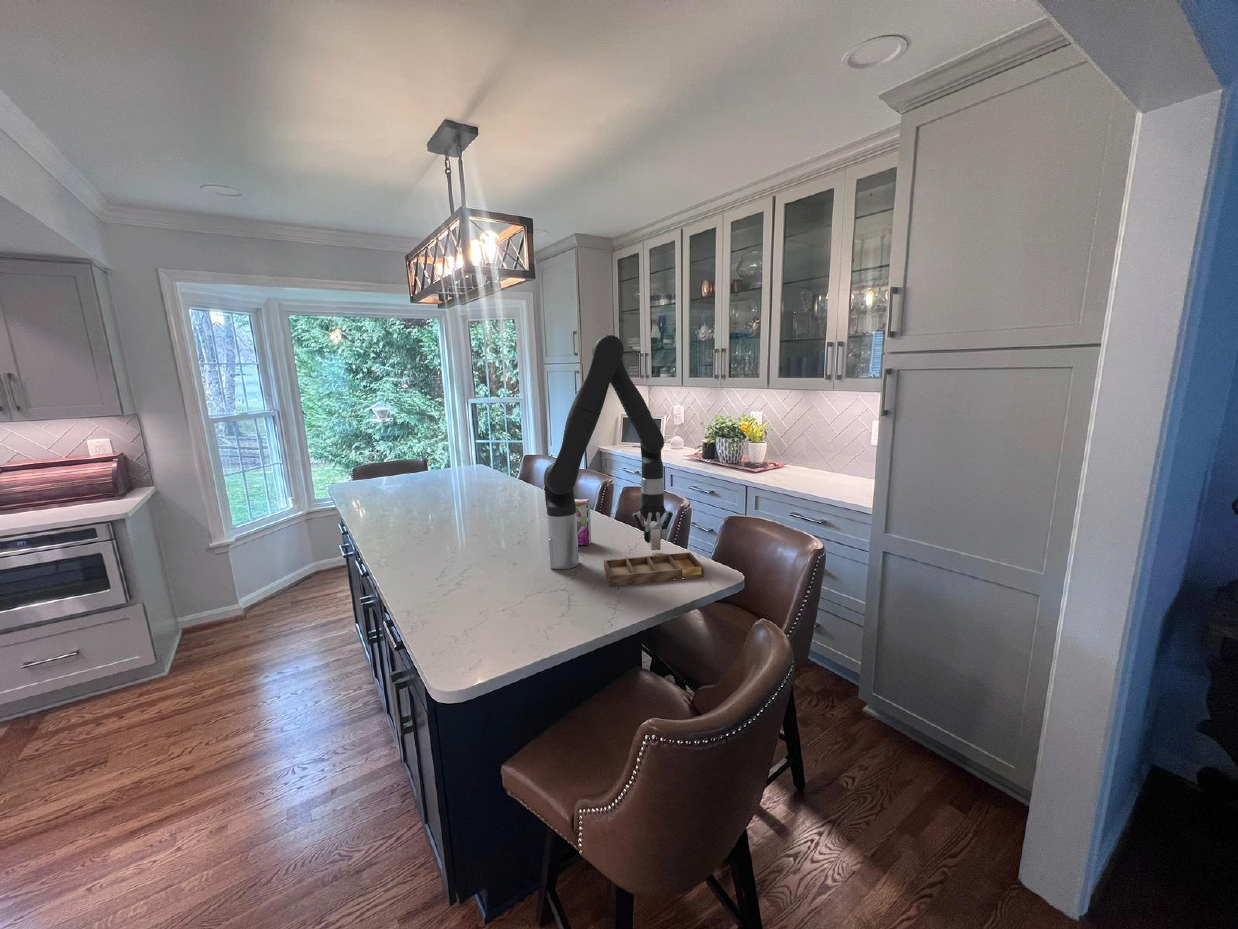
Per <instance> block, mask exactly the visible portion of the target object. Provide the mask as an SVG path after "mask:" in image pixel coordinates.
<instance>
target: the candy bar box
mask: <svg viewBox="0 0 1238 929" xmlns="http://www.w3.org/2000/svg"><path fill="white" fill-rule="evenodd" d="M574 500H575V504H576V519H577V538H578V547H583V546H582V545H587V546H586V547H588V545H589V544H591V543H592V526H591V524H592V523H591V503H590V502H591V500H590V499H589V498H587V499H585V498H584V499H580V498H578V499H577V498H574ZM579 545H581V546H579ZM589 546H590V545H589Z"/></svg>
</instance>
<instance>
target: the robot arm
mask: <svg viewBox="0 0 1238 929" xmlns="http://www.w3.org/2000/svg"><path fill="white" fill-rule="evenodd" d="M624 348H625V347H624V343H623V342H622V340H621V338H619V337H618V336H615V335H613V334H607V335H604V336H601V337H600V338H599V339H597V340H596V342H595V343H594V345H593V347H592V352H591V353H592V358H591V363H590V367H589V369H588V372H587V375H586V377H585V379H584V381H583V383H582V384H581V386H580V388H579V389H578V392H577V393H576V395H575V397H574V400H573V401H572V404H571V407H570V410H569V412H568V415H567V418H566V421H565V425H564V431H563V437H562V442H561V443H562V444H561V447H560V450H559V452H558V454H557V457H556V459H555V461H554V462H552V463H550V464H549V465H548V466H547V467H546V469H545V470H544V475H543V485H544V499H545V506H546V507H545V508H546V516H547V531H548V552H549V554H548V555H549V567H550V569H553V570H554V569H555V570H568V569H569V570H571V569H573V568H575V567H577V566H578V565H579V564H580V562H579V561H580V560H579V559H580V558H579V546H578V538H577V519H576V504H575V500H574V499H575V495H574V487H575V485H576V482H577V479H578V476H579V472H580V467H581V464H582V460H583V457H584V454H585V452H586V450H587V447H588V446H589V443H590V441H591V438H592V436H593V434H594V431H595V429H596V426H597V424H598V422H599V420H600V417H601V414H602V410H603V408H604V404H605V401H606V398H607V394H608V390H609V387H610V384H611V386H612V388H613V389H614V391H615V394H616V396H617V397H618V400H619V402H620V404H621V407H622V408H623V410H624V413H625V414H626V417H627V418H628V420H629V422H630V424H631V425H632V427H633V428H634V429H635V432H636V434H637V436H638V438H639V441H640V444H639V445H640V454H641V457H640V458H641V482H640V502H641V505H640V509H639V511H638V512H632V517H633V519H634V521H635V523H636V525H637V528H638V529H639V531H640V532H641V531H642V532H643V539H644V542H645V543H646V542H647V543H649V532H648V531H649V526H650V522H652V521H654V522H655V523H656V524H657V526H658V527H659V528H660V531H661V533H662V532H663V531H664V530H667V529H668V527H669V525H670V522H671V520H672V518H673V515H674V514H673V511H671V510H667V509H666V508H665V481H664V464H663V460H662V449H664V446H665V438H664V436H663V434H662V431H661V430H660V428H659V427H658V425H657V423H656V421H655V420H654V418H653V416H652V414H651V411H650V410H649V407H648V405H647V404H646V401H645V400H644V397H643V396H642V394H641V393H640V390H639V389H638V388H637V386H636V385H635V384H634V382H633V381H632V380H631V378H630V375H629V374H628V371H627V370H626V368H625V364H624V362H623V358H624V353H625V349H624ZM641 516H642V517H643V519H644V524H642V523H641V520H640V519H641ZM663 516H665V517H664V520H663V522H662V520H661V519H662V518H663ZM647 543H646V544H647Z"/></svg>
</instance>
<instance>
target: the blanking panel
mask: <svg viewBox="0 0 1238 929" xmlns="http://www.w3.org/2000/svg"><path fill="white" fill-rule="evenodd" d="M648 532H649V543H647V542H646V541H645V543H646V545H647V546H648V547H649V549H650V551H661V547H662V546H661V541H662V532H661V531H660V528H659V527H658V526H657V524H656V522H655V521H652V522H650V526H649V531H648Z"/></svg>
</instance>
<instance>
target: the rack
mask: <svg viewBox="0 0 1238 929" xmlns="http://www.w3.org/2000/svg"><path fill="white" fill-rule="evenodd" d="M603 570H604V573H605V575H606V579H607V581H608V584H609V587H616V586H617V587H618V586H627V585H637V584H638V583H639V584H647V583H646V582H650V583H658V582H657V581H660V582H666V581H665V580H670V581H675V580H674V579H680V580H683V579H682V578H690V579H698V578H700V577H701V578H704V577H705V567H704V566H703V565H702V564H701V563H700V561H699V560H698V559H697V558H696V557H695V556H694V554H692V552H679V553H670V554H669V553H667V554H657V555H646V556H635V557H625V558H623V557H622V558H613V559H611V558H610V559H604V560H603ZM639 584H638V585H639Z"/></svg>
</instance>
